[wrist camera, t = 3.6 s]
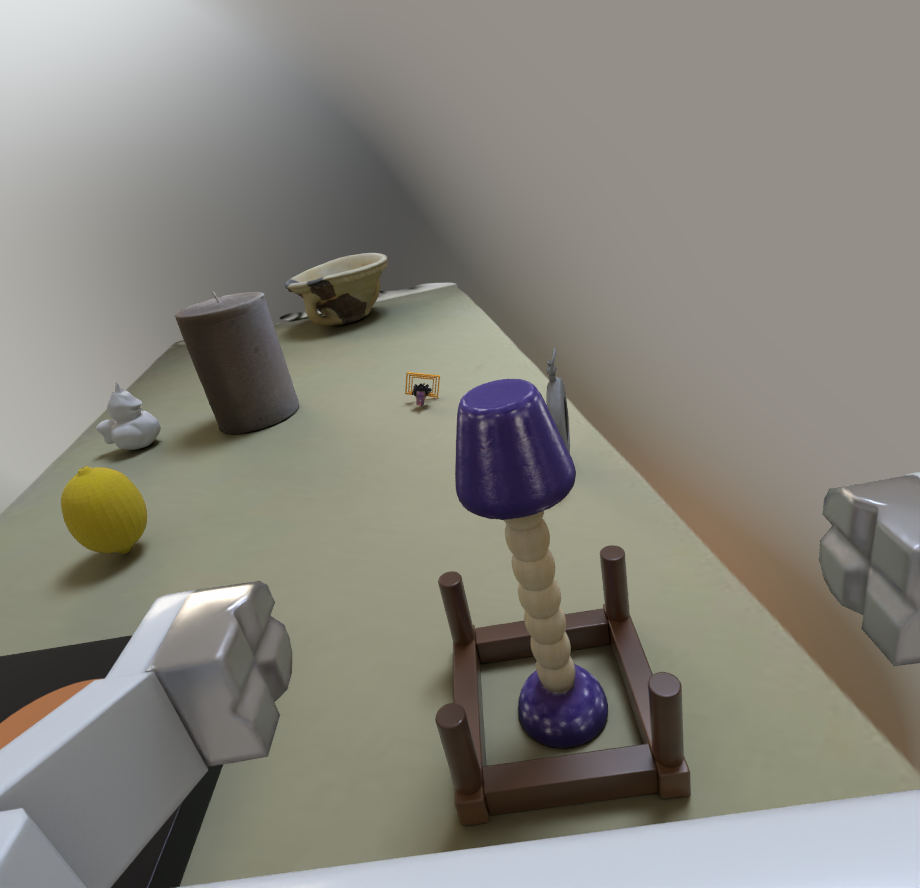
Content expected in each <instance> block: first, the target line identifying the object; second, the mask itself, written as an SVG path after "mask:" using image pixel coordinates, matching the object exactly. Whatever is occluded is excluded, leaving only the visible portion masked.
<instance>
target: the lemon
mask: <svg viewBox="0 0 920 888" xmlns="http://www.w3.org/2000/svg"><path fill="white" fill-rule="evenodd" d="M61 507H62V513H63V517H64V521H65V523H66V526H67V528H68V530H69V531H70V533H71V534H72V536H73V537H74V538H75V539H76V540H77V541H78V542H79V543H80V544H82V545H83V546H84V547H86V548H87V549H89V550H92V551H95V552H99V553H114V552H118V553H123V554H125V553H128V552H129V551H130V550H131V548H132V546H133V544H134V543H135V542H136V541H138V539H139V538H140V537H141V536H142V534H143V532H144V530H145V527H146V524H147V510H146V505H145V502H144V499H143V497H142V495H141V494H140V492H139V490H138V489H137V488H136V486H135V485H134V484H133V483H132V482H131V481H130V480H129V479H128V478H127V477H126V476H125V475H123V474H122V473H120V472H118V471H116V470H112V469H108V468H90V467H83V468H81V469H79V471H78V473H77V475H75V476H74V477H73V478H72V479H71V480H70V481H69V482H68V483H67V485H66V487H65V489H64V491H63V493H62V497H61Z"/></svg>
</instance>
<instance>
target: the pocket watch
mask: <svg viewBox="0 0 920 888" xmlns="http://www.w3.org/2000/svg"><path fill="white" fill-rule="evenodd" d="M555 354H556V348H554V349H553V353H552V359H551V360H549V362H547V364H548V366H547V369H546V371H547V373H548V374H549V383H548V385H547V407H548V410H549V412H550V414H551V416H552V418H553V420H554V422H555V424H556V426H557V428H558V431H559V433H560V435H561V437H562V439H563V441H564V443H565V445H566V447H567V450H568V452H569V454H570V436H569V418H568V410H567V401H566V393H565V388H564V384H563V381H562V379H561V378H557V377H555V372H556V366H555V365H554V359H555Z"/></svg>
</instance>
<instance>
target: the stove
mask: <svg viewBox="0 0 920 888" xmlns="http://www.w3.org/2000/svg"><path fill="white" fill-rule="evenodd" d="M132 636H133V635H132ZM132 636H125V637H119V638H113V639H107V640H100V641H94V642H88V643H81V644H75V645H69V646H63V647H56V648H50V649H44V650H37V651H31V652H25V653H19V654H12V655H6V656H0V750H1V749H2V748H3V747H5V746H6V745H7V744H9V743H10V742H11V741H13V740H14V739H15V738H17V737H18V736H20V735H21V734H22V733H24V732H25V731H26V730H28V729H29V728H30V727H32V726H33V725H34V724H36V723H37V722H39V721H40V720H41V719H43V718H44V717H45V716H47V715H48V714H49V713H51V712H52V711H53V710H55V709H56V708H58V707H59V706H60V705H62V704H63V703H64V702H66V701H67V700H68V699H70V698H71V697H72V696H74V695H75V694H77V693H78V692H79V691H81V690H82V689H83V688H85V687H86V686H87V685H89V684H90V683H91V682H93V681H94V680H100V679H105V678H106V676H107V675H108V673H109V672H110V670H111V669H112V667H113V666H114V664H115V662H116V661H117V659H118V658H119V656H120V655H121V653H122V652H123V650H124V648H125V647H126V645H127V644H128V642H129V641H130V639H131V638H132ZM222 765H223V764H222ZM222 765H216V766H210V767H207V768H208V771H207V772H206V774H205V775H204V776H203V777H202V778H201V780H200V781H199V782H198V783H197V784H196V786H195V787H194V788H193V789H192V791H191V792H190V793H189V794H188V795H187V797H186V798H185V799H184V800H183V801H182V803H181V804H180V805H179V806H178V807H177V809H176V810H175V811H174V812H173V813H172V815H171V816H170V817H169V818H168V819H167V821H166V822H165V823H164V824H163V825H162V827H161V828H160V829H159V830H158V831H157V833H156V834H155V835H154V836H153V837H152V839H151V840H150V841H149V842H148V843H147V845H146V846H145V847H144V848H143V849H142V851H141V852H140V853H139V854H138V855H137V857H136V858H135V859H134V860H133V861H132V863H131V864H130V865H129V866H128V867H127V869H126V870H125V871H124V872H123V874H122V875H121V876H120V877H119V878H118V880H117V881H116V882H115V883H114V884H113V886H112V887H111V888H177V887H179V884H180V881H181V879H182V876H183V873H184V870H185V868H186V865H187V862H188V859H189V856H190V854H191V851H192V848H193V845H194V842H195V840H196V837H197V834H198V831H199V829H200V826H201V823H202V820H203V817H204V815H205V812H206V809H207V806H208V804H209V801H210V798H211V795H212V792H213V790H214V787H215V784H216V781H217V778H218V776H219V773H220V770H221V767H222Z"/></svg>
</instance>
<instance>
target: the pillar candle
mask: <svg viewBox="0 0 920 888" xmlns="http://www.w3.org/2000/svg"><path fill="white" fill-rule="evenodd" d="M212 294H213V295H214V296H215V299H212V300H208V301H204V302H201V303H198V304H195V305H192V306H189V307H187V308H184V309H182V310H180V311H179V312H178V313H176V315H175V317H176V320H177V323H178V325H179V328H180V331H181V334H182V336H183V339H184V341H185V344H186V346H187V349H188V351H189V354H190V356H191V359H192V361H193V364H194V366H195V369H196V371H197V374H198V376H199V379H200V381H201V383H202V385H203V388H204V391H205V393H206V396H207V399H208V401H209V404H210V406H211V408H212V411H213V413H214V415H215V418H216V420H217V423H218V425H219V430H221V431H223V432H226V433H229V434H241V433H245V432H251V431H255V430H259V429H262V428H266V427H268V426H272V425H274V424H277V423H278V422H280V421H282V420H284V419H285V418H288V417H289V416H291V415H292V414H293V413H294V412H295V411H296V410H297V409H298V407H299V402H298V399H297V395H296V393H295V390H294V387H293V383H292V380H291V377H290V374H289V371H288V368H287V365H286V362H285V359H284V355H283V353H282V350H281V346H280V344H279V341H278V338H277V335H276V332H275V329H274V326H273V323H272V320H271V317H270V314H269V311H268V307H267V304H266V301H265V298H264V293H261V292H249V293H239V294H232V295H227V296H223V297H219V298H217V296H216V295H215V293H214V292H212Z"/></svg>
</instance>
